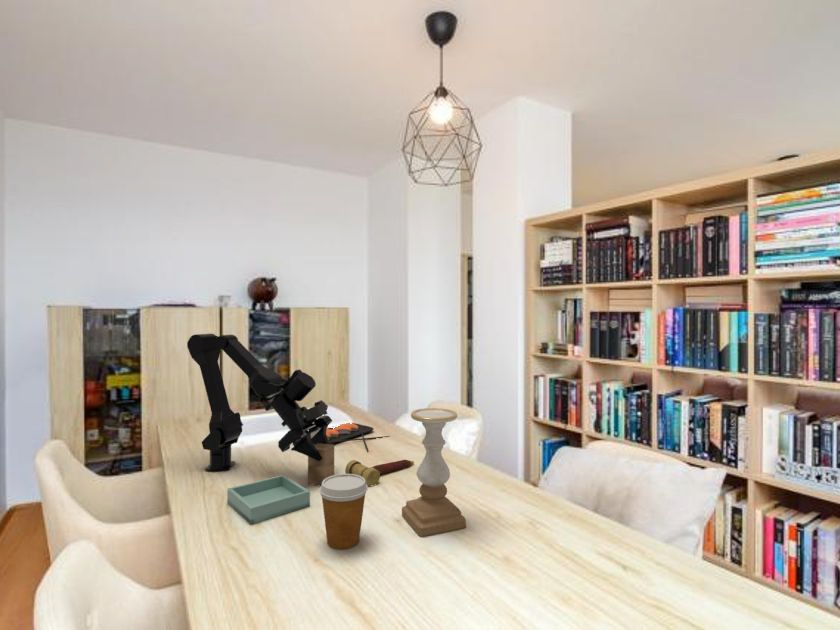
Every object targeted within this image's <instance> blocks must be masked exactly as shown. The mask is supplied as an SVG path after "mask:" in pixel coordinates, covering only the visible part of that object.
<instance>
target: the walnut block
mask: <svg viewBox="0 0 840 630" xmlns="http://www.w3.org/2000/svg"><path fill="white" fill-rule="evenodd" d="M314 446H315V447H316V449H317V450H318V452H319V453H320V455H321V457H322V459H321V460H320V461H317V460H315V459H313V458H311V457H309V456H307V484H308V485H310V484H313V485H312V486H317V485H320V486H319V487H321V485H322V481H323V480H324V479H326V478H328V477H330V476H333V475H335V444H322V443H317V444H315V445H314Z"/></svg>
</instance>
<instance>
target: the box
mask: <svg viewBox="0 0 840 630" xmlns="http://www.w3.org/2000/svg"><path fill="white" fill-rule="evenodd" d="M226 501H227V504H228V506H229V507H231V508H232V509H233V510H234V511H235V512H236V513H237V514H238V515H239V516H240V517H242V518H243V520H245V521H246V522H247V523H248V524H249V525H254V524H258V523H261V522H264V521H267V520H269V519H273V518H277V517H280V516H283V515H287V514H289V513H292V512H295V511H298V510H302V509H305V508H309V507H311V491H310V490H308V489H307V488H305V487H304V486H302V485H301V484H299V483H297V482H296V481H294V480H293V479H291V478H289V477H288V476H286V475H284V474H280V475H278V476H273V477H269V478H268V477H267V478H264V479H260V480H257V481H252V482H249V483H245V484H240V485H238V486H233V487H230V488H227V500H226Z"/></svg>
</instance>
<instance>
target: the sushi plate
mask: <svg viewBox="0 0 840 630" xmlns="http://www.w3.org/2000/svg"><path fill="white" fill-rule="evenodd" d="M350 423H352V424H350ZM339 425H340V426H338V427H335V428H334V429H333V428H330V427H327V430H326V435H327V439H328V442H329V444H331V445H333V444H335V443H338V442H339V443H340V442H351V441H352V442H355V441H363V443H364V446H365V450H367V451H366V453H367V452H369V453H370V451H369V448H368V444H367V442H366V440H367V441H368V440H377V439H376V438H379V439H383V437H385V438H389V437H390V436H391V435H386V436H385V435H384V436H374V437H365V436H364V434H366V433H369V432H372V431H373V430H374V428H373V426H370V425H369V426H368V425H364V424H360V423H353V422H346V424H345V423H342V424H339ZM360 435H361V436H362V438H355V439H354V437H358V436H360ZM311 438H312V437H311ZM350 438H353V439H350ZM314 445H315V444H314Z"/></svg>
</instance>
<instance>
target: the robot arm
mask: <svg viewBox="0 0 840 630" xmlns="http://www.w3.org/2000/svg"><path fill="white" fill-rule="evenodd" d="M186 344H187V345H186V347H187V350H188V352H189V354H190V357H191V359H192V360H193V361H195V363H196V364H197V365H198V366H199V369H200V372H201V373H200V374H201V376H202V381H203V384H204V389H205V391H206V397H207V401H208V404H209V407H210V412H211V416H210V418H209V423H208V428H209V434H208V435H207V436H206V437H205V438H204V439H203V440H201V445H202V448H203V450H206V451H209V464H208V466H207V467H206V468H204V469H205V470H204V471H205V472H211V471H213V472H218V471H221V472H222V471H230V469H231V468H232V467H233V466H234V465H235V464H236V460H235V461H234V460H232V445H234V444H237V443H238V441H239V437H240V436H241V434H242V432H243V426H244V424H243V422H242V419H241V414H240V412H238V411H237V412H234V410H232V409H231V407H230V403H229V398H228V395H227V391H226V388H225V384H224V380H223V377H222V373H221V369H220V364H219V358H220V354H221V350H222V351H223V352H224V353H225V354H226V355H227V356H228V357H229V358H230V359H231V361H232V362H234V363H235V365H236V366H237V367H238V368H239V369H240V370H241V371H242V372H243V373H244V374H245V375H246V376H247V378H248V380H249V384H250V385H249V386H250V387H251V388H252V390H253V391H254V393H255V394H256V395H257V396H258V397H259V398H268V397H271V396H273V398H272V399H268V400H266V401H265V404H266V405H265V408H264V411H266V412H267V411H268V412H269V411H271V410H274V411H275V412H276V415H278V416H279V418H281V420H282V422H281V423H280V424H281V425H282V427H286V426H287V428H288V429H289V430H288V431H287V432H286V433H285V434H284V435H283V436H282V437H281V439H280V440H278V442H277V443H278V444H277V446H278V449H279V450H280V451H281V452H282V453H284V452H287V451H288V450H289V449H290V450H291V451H292V452H297V453H300V454H302V455H304V456H307V457H308V456H309V457H311V458H313V459H315V460H317V461H320V460H321V459H322V457H321V455H320V453H319V452H318V450H317V449H316V447H315V446H314V444H317V443H322V444H329V442H328V439H327V435H326V430H327V428H329V425H330V424H331V423H332V422H333V420H332V419H331V417H330V416H329V415H327V414H328V411H327V410H328V408H329V406H328V404H326V402H325V401H323V400H322V399H321V400H319V401H316V402H314V404H313V405H314V406H312V407H310V408H307V407H306V406H300V405H299V403H298V402H301V401H303V400H304V399H305V398H306V397H307V396H308V395H309V394H310V393H311V391H312V390H313V389H315V387H316V381H315V379H314V378H313V377H312V376H311V375H310V374H308V373H306V372H304V371H302V370H301V369H296V370H294V371H293V373H292V375H290V377H289V378H288V379H287V378H286V379H285V378H283V377H282V376H281V375H280V374H278V373H277V372H276V371H275V370H273V369H271V368H268V367H266V366H264V365H263V364H262V363H261V362H259V360H258V359H257V358H256V357H255V356H254V355H253V354H252V352H250V351H249V349H247V348H246V346H244V345H243V344H242V343H241V341H239V339H238V336H236V335H234V334H221V335H219V336H217V335H216V334H214V333H200V334H199V333H197V334H193V335H191V336H190V337H189V339H188V341H187V342H186ZM311 437H312V438H311ZM291 445H292V446H293V447H292V448H291Z"/></svg>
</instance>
